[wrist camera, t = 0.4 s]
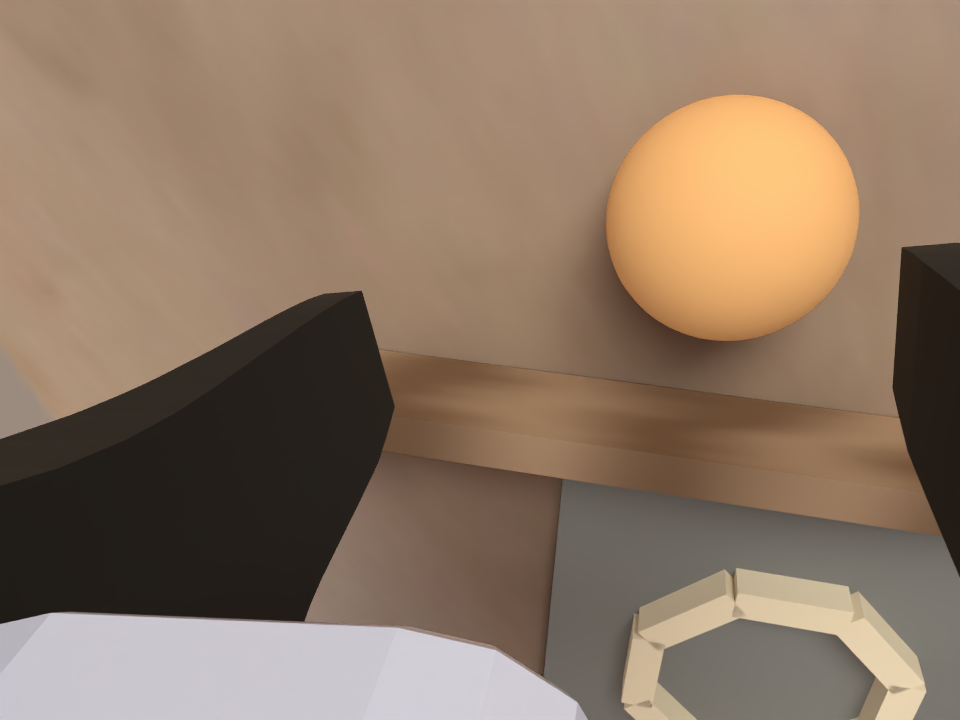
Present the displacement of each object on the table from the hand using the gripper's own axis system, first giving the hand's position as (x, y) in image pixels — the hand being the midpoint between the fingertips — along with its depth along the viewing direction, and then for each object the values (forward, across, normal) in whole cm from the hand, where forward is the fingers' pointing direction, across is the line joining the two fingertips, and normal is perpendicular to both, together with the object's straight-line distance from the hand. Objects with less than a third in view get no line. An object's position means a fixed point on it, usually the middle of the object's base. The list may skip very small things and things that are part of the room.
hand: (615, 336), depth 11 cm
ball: (+7, -2, +1) cm, 7 cm away
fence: (+9, 0, +8) cm, 12 cm away
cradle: (+9, -2, +18) cm, 20 cm away
